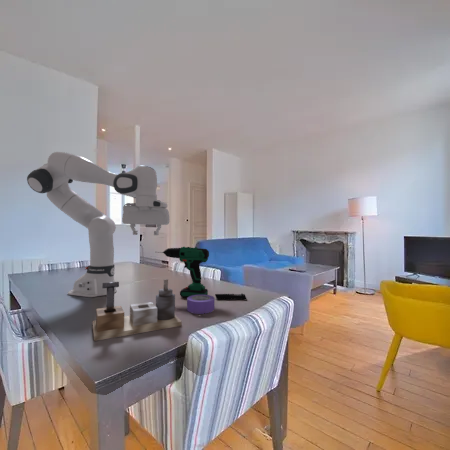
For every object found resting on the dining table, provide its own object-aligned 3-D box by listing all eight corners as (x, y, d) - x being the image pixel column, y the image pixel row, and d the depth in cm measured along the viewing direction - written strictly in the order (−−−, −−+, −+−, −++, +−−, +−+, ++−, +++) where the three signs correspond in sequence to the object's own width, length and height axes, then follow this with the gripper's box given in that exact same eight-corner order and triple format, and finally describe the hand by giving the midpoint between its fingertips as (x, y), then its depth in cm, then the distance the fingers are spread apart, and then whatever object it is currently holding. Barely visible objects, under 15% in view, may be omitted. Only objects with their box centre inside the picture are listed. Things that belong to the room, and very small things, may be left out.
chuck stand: (94, 341, 80) (95, 290, 80) (92, 325, 93) (93, 281, 92) (181, 325, 94) (182, 282, 94) (170, 313, 106) (170, 275, 106)
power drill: (205, 299, 126) (206, 247, 126) (150, 295, 132) (151, 245, 132) (208, 296, 131) (209, 246, 131) (155, 292, 137) (156, 244, 137)
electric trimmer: (214, 299, 130) (214, 292, 130) (245, 298, 131) (245, 292, 131) (215, 301, 126) (215, 294, 126) (247, 300, 127) (247, 294, 127)
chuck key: (102, 322, 86) (102, 283, 86) (101, 319, 89) (102, 282, 89) (118, 319, 89) (119, 282, 89) (117, 317, 91) (118, 280, 91)
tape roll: (188, 305, 118) (188, 294, 118) (214, 305, 119) (214, 294, 119) (185, 314, 106) (186, 301, 106) (214, 314, 107) (214, 301, 107)
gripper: (119, 202, 112) (119, 234, 112) (166, 203, 110) (165, 235, 110) (126, 203, 118) (126, 234, 118) (170, 204, 117) (170, 235, 117)
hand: (145, 235), depth 114 cm, fingers open, 8 cm apart
